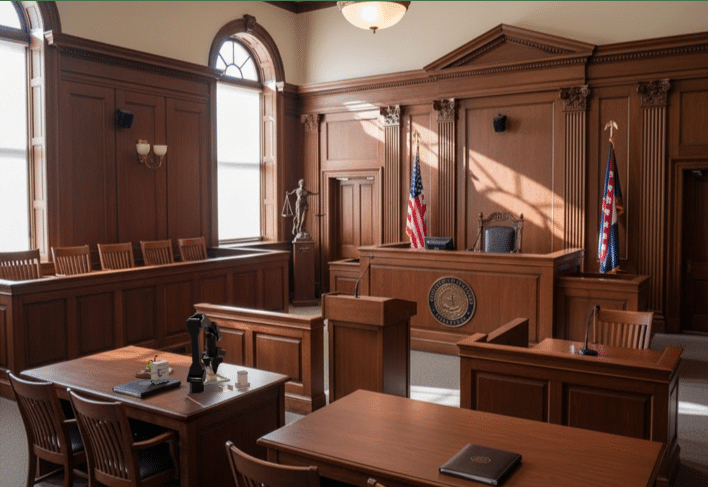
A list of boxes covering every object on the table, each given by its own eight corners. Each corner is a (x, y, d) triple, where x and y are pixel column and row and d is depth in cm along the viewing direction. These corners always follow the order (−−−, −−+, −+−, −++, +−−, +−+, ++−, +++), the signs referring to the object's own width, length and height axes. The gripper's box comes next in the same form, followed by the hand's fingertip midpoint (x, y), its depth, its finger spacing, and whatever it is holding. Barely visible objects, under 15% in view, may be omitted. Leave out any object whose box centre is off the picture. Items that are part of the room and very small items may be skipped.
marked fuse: (210, 382, 365) (209, 367, 365) (206, 380, 369) (206, 366, 368) (217, 380, 368) (216, 366, 367) (213, 379, 371) (213, 365, 371)
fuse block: (221, 394, 343) (221, 388, 343) (214, 390, 351) (214, 385, 350) (253, 388, 354) (253, 383, 354) (245, 385, 361) (245, 379, 361)
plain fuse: (240, 387, 352) (240, 373, 352) (237, 386, 355) (237, 371, 355) (247, 386, 355) (247, 371, 354) (244, 384, 358) (244, 370, 357)
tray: (204, 386, 358) (204, 383, 358) (193, 380, 370) (193, 377, 370) (230, 382, 367) (230, 378, 366) (218, 376, 379) (218, 373, 379)
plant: (179, 371, 393) (179, 352, 392) (162, 379, 374) (162, 360, 373) (148, 369, 398) (148, 350, 397) (130, 377, 378) (130, 358, 378)
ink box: (163, 380, 371) (163, 359, 371) (169, 381, 368) (169, 360, 368) (150, 383, 364) (150, 362, 364) (156, 385, 361) (156, 363, 361)
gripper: (231, 345, 364) (232, 373, 365) (217, 340, 379) (218, 366, 380) (213, 348, 358) (213, 376, 359) (199, 342, 373) (199, 369, 374)
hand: (211, 372), depth 368 cm, fingers open, 9 cm apart
